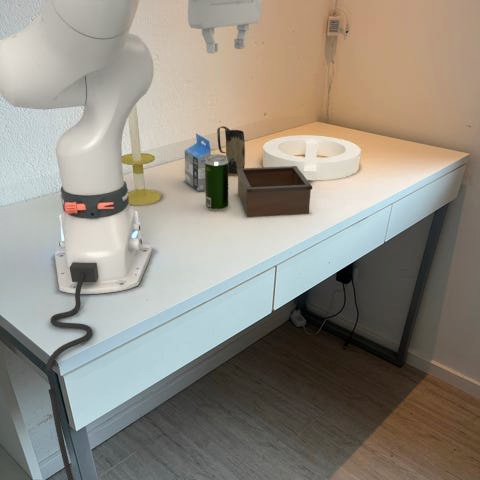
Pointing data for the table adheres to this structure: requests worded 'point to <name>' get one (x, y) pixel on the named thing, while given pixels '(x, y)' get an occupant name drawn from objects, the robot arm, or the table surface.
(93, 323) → the table surface
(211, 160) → the beer can
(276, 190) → the brown open box
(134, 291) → the table surface
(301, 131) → the table surface
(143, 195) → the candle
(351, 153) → the white circle with bar
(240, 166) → the mug
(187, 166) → the label tape box
